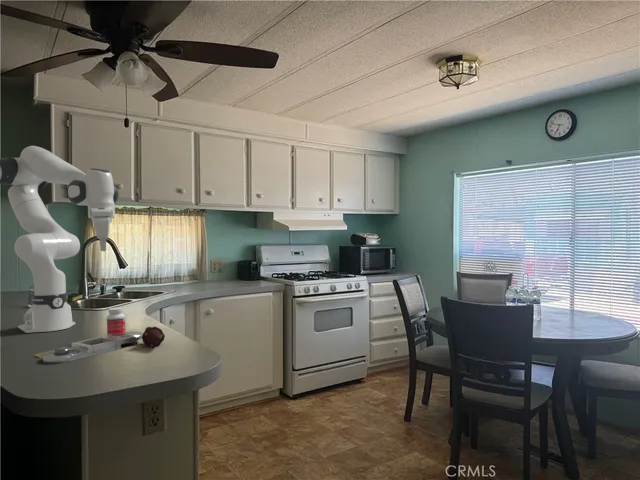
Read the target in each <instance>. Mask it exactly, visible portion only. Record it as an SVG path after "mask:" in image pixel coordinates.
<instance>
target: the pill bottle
mask: <svg viewBox="0 0 640 480" xmlns="http://www.w3.org/2000/svg"><path fill="white" fill-rule="evenodd" d="M123 312H124V308H123V307H111V308H108V315H107V316H106V336H107V335H112V334H117V333H122V332H127V331H126V314H124V313H123Z"/></svg>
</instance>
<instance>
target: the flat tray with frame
mask: <svg viewBox="0 0 640 480" xmlns="http://www.w3.org/2000/svg"><path fill="white" fill-rule="evenodd" d="M143 333H144V332H142V331H126V332H122V333H117V334H112V335H107V334H106V335H103V336H100V337H94V338H89V339H84V340H79V341H75V342H71V347H67V346H65V347H58V348H55V349H53V350H54V352H50V353H47V354H45V355H43V357H42V363H44V364H63V363H68V362H72V361H76V360H81V359H85V358H89V357H93V356H97V355H102V354H105V353H110V352H113V351H117V350H121V349H122V346H130V345H136V344H137V343H138V341H139V340H142V335H143Z"/></svg>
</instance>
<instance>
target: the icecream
mask: <svg viewBox="0 0 640 480" xmlns="http://www.w3.org/2000/svg"><path fill="white" fill-rule="evenodd" d="M142 333H143V335H142V339H141V340H142V342H143V345H144V346H146V347H148V348H151V347H152V348H157V347H159V346H160V345H161V344H162V343H163V342H164V340H165V336H166V335H165V333H164V332H163V330H162V329H161V328H159V327H157V326H148V327H146V328H145V329H144V331H143V332H142Z"/></svg>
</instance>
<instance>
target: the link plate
mask: <svg viewBox="0 0 640 480" xmlns="http://www.w3.org/2000/svg"><path fill="white" fill-rule="evenodd" d="M54 350H55V349H53V350H48V351H42V352H39V353H38V352H37V353H35V355H34V356H35V357H36V358H40V359H42V358H43V355H45V354H47V353H50V352H54Z"/></svg>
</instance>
